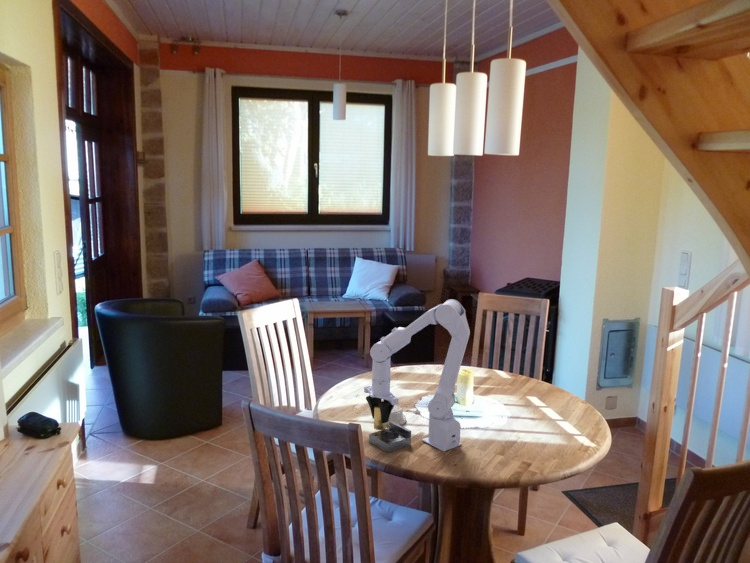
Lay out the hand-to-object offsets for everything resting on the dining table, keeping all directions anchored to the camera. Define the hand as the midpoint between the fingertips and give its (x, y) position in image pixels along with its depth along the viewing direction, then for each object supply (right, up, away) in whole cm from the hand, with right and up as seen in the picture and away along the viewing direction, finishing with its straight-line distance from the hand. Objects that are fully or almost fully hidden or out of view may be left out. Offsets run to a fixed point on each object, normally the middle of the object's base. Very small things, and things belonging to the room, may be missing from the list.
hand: (380, 420), depth 189 cm
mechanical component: (+4, -3, +10) cm, 11 cm away
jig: (+3, -5, -8) cm, 10 cm away
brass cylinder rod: (0, -3, 0) cm, 2 cm away
